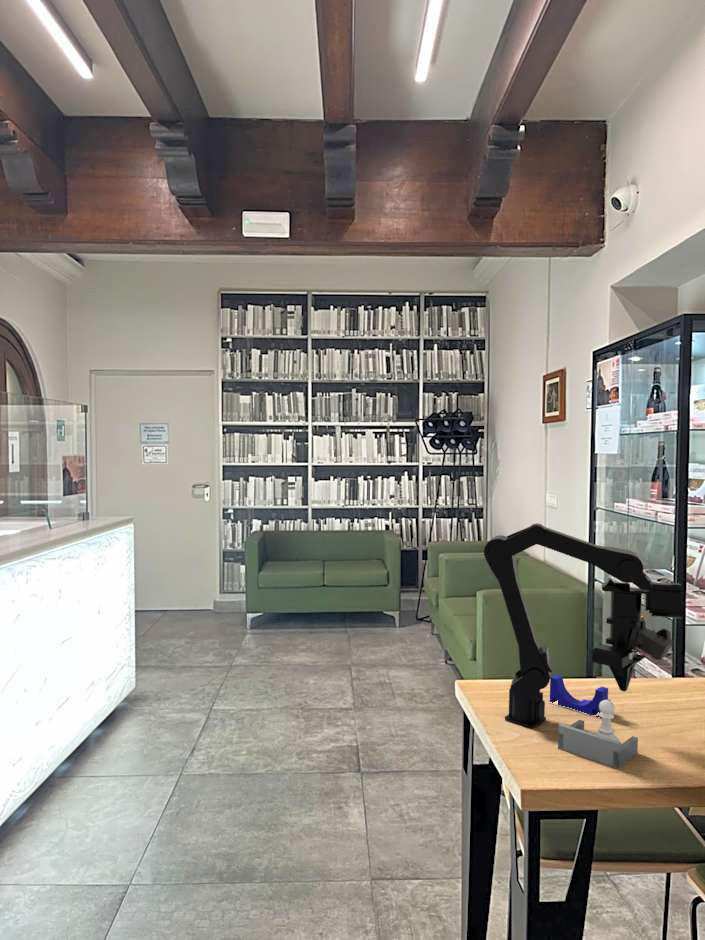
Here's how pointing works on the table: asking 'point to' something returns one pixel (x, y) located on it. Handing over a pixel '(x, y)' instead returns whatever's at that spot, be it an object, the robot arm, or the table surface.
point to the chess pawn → (606, 720)
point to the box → (595, 745)
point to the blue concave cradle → (567, 700)
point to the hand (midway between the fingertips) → (623, 690)
